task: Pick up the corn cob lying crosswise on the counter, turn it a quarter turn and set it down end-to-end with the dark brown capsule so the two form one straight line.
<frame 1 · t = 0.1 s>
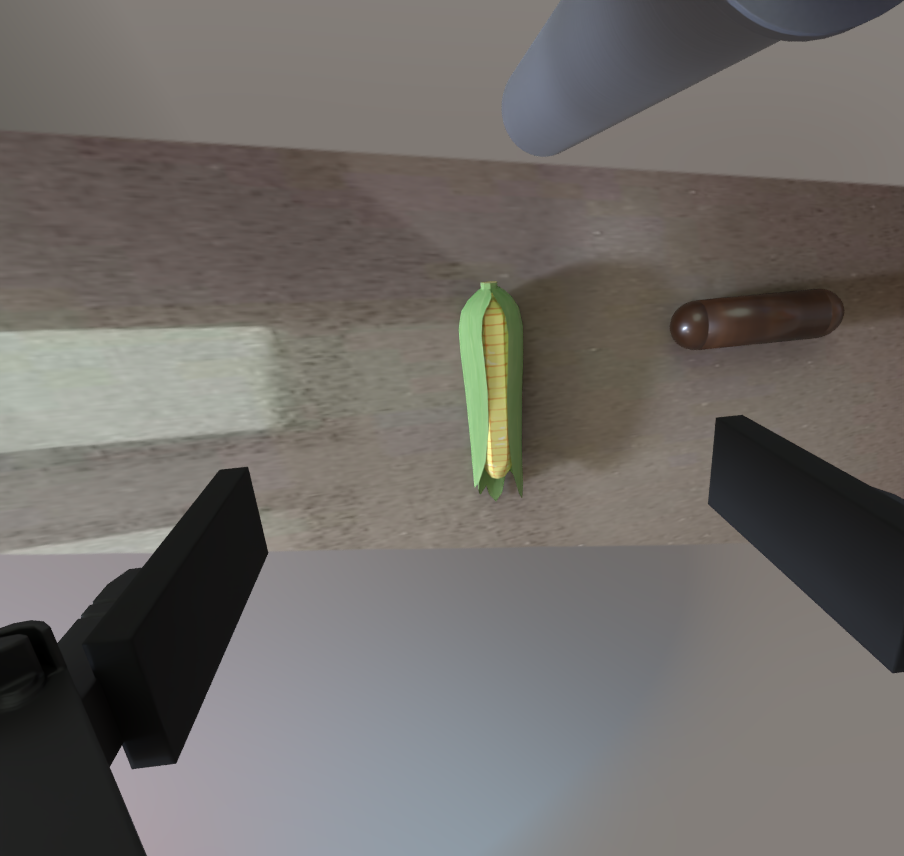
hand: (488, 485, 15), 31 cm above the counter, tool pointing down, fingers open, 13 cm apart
dark brown capsule: (741, 316, 46), on the counter
edible corn: (490, 396, 47), on the counter
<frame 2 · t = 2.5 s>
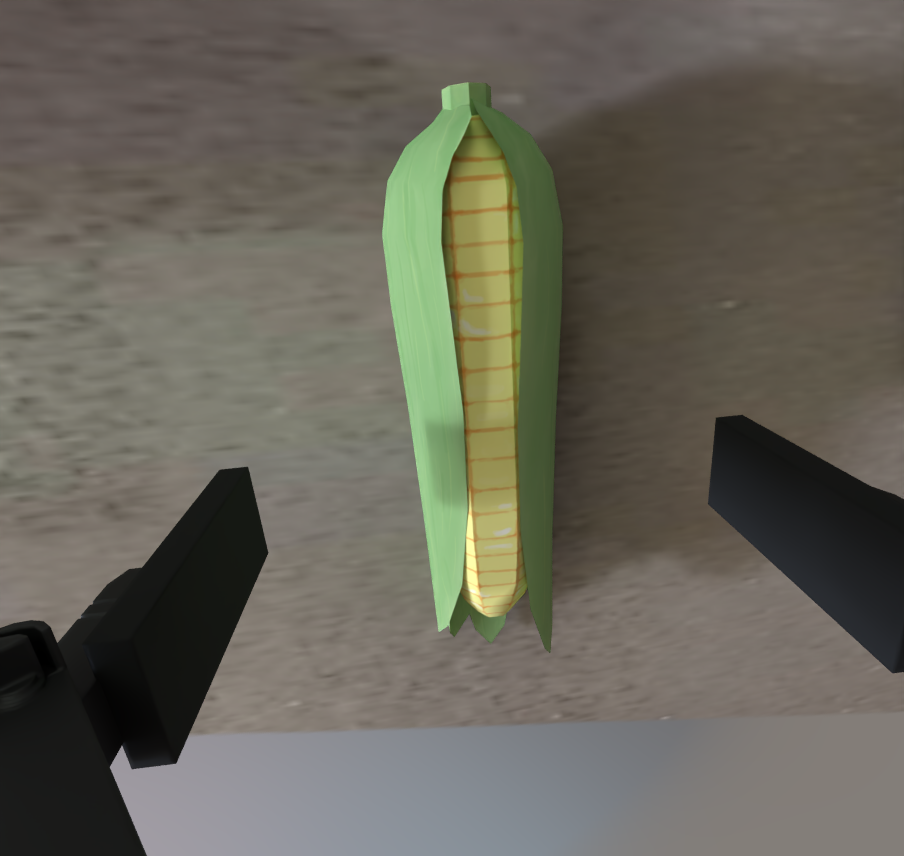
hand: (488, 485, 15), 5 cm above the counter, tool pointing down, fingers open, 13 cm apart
edible corn: (477, 417, 20), on the counter
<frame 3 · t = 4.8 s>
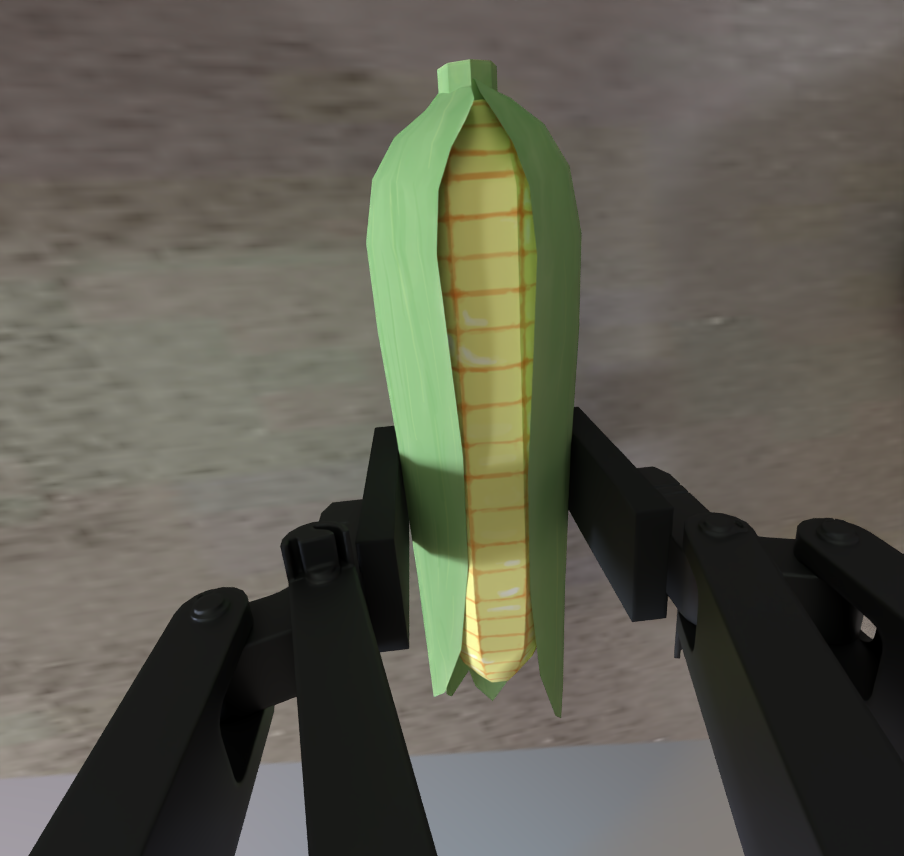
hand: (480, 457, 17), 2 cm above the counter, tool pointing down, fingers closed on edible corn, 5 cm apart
edible corn: (477, 450, 18), point 2 cm above the counter, touching gripper
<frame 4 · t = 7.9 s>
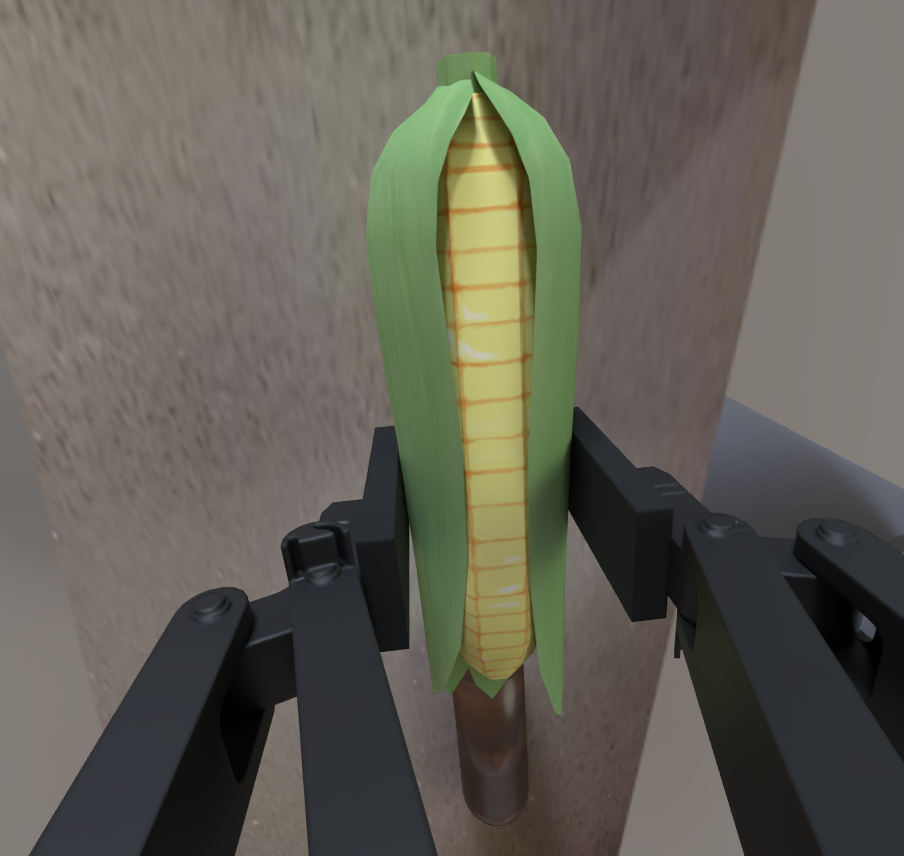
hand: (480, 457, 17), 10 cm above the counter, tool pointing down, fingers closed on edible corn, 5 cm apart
dark brown capsule: (486, 696, 33), on the counter
edible corn: (477, 447, 18), point 9 cm above the counter, touching gripper
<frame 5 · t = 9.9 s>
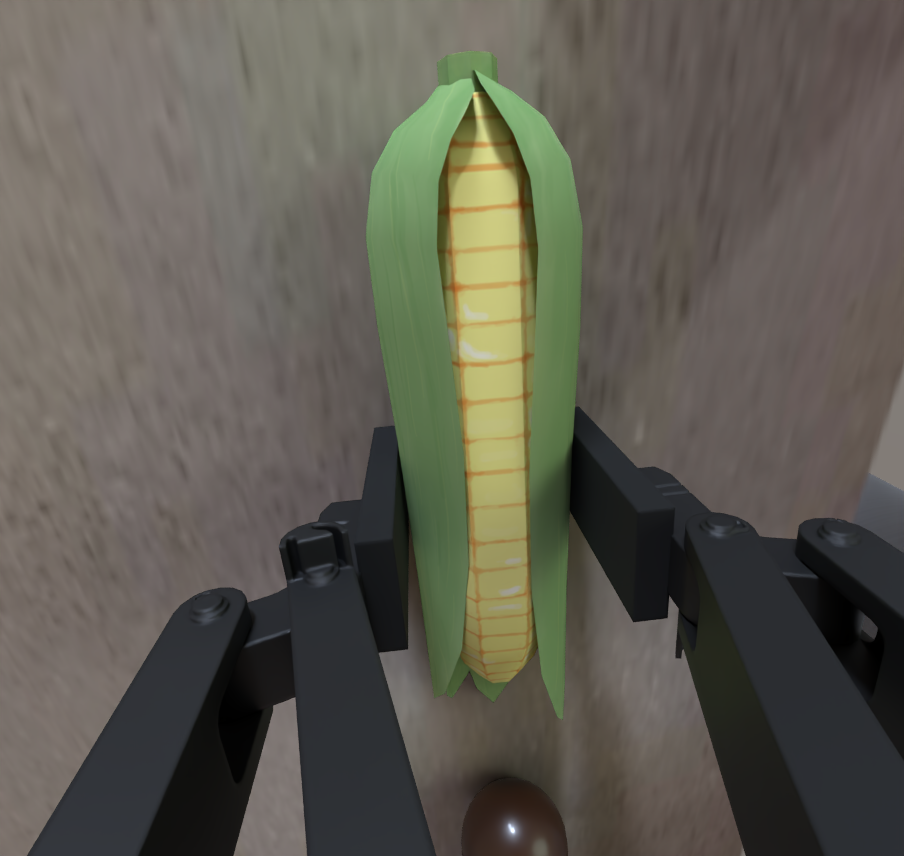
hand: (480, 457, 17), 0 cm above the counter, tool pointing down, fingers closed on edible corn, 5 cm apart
edible corn: (478, 449, 17), on the counter, touching gripper
when the fingers open (0 cm above the counter, at t = 11.3 s): edible corn stays where it is, on the counter.
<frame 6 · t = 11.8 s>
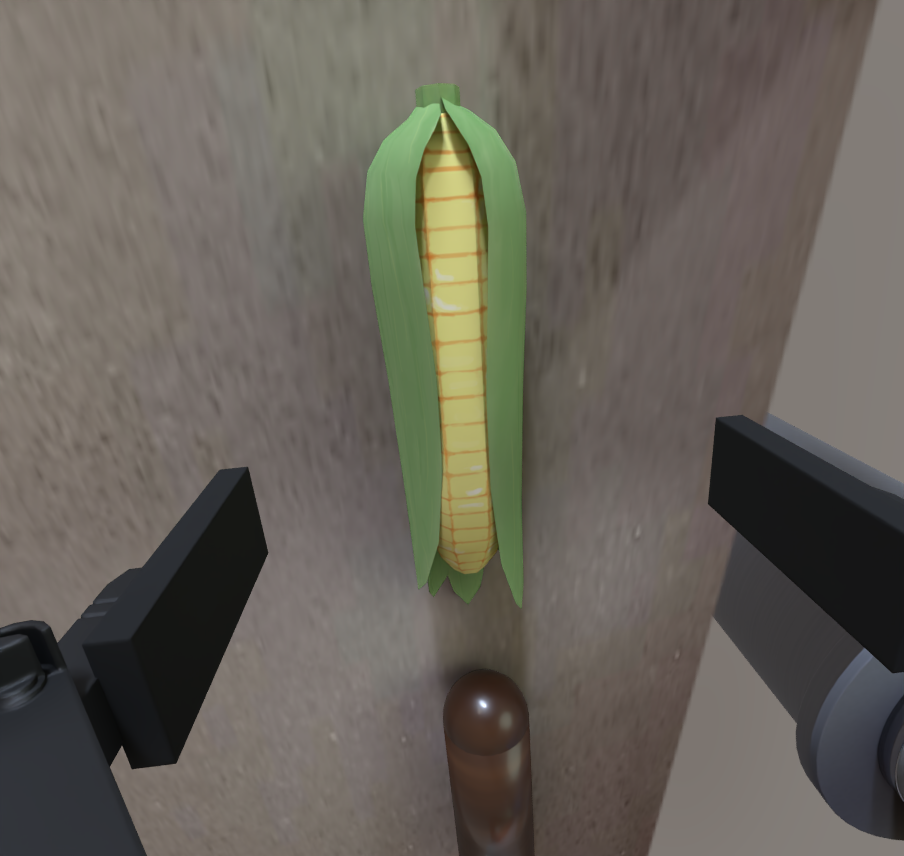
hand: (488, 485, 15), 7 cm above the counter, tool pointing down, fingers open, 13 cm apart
dark brown capsule: (485, 752, 29), on the counter
edible corn: (453, 392, 22), on the counter
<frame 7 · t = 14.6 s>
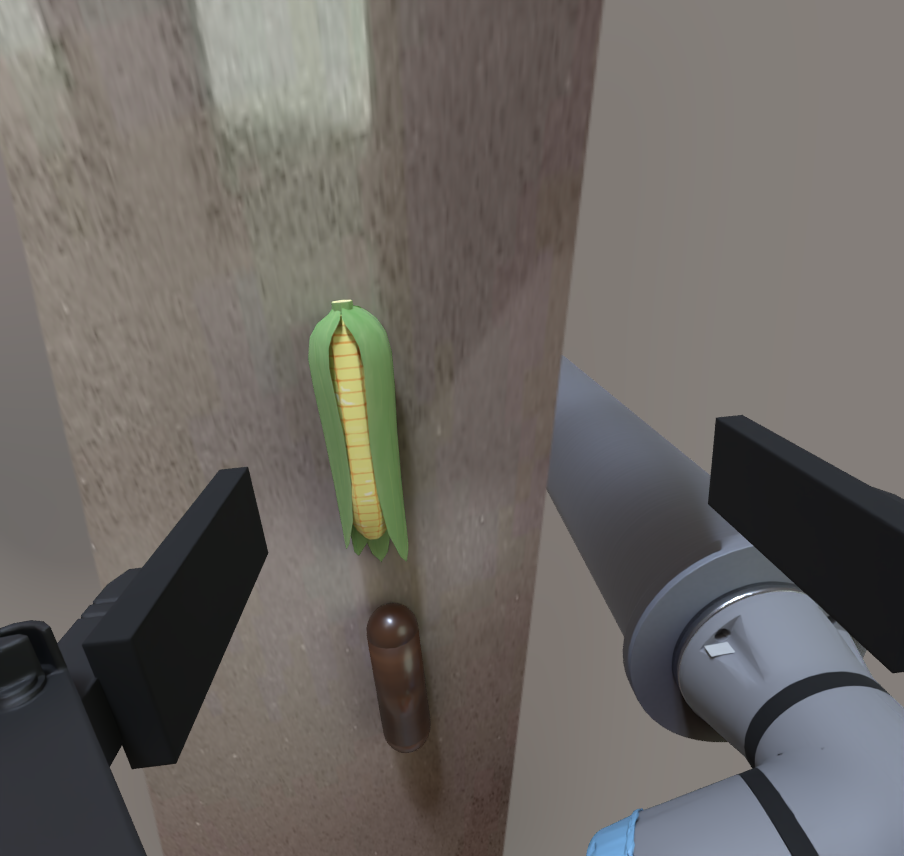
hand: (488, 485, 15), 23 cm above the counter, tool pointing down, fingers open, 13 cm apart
dark brown capsule: (400, 661, 46), on the counter
edible corn: (366, 438, 39), on the counter
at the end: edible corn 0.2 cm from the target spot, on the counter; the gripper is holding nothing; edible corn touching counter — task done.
